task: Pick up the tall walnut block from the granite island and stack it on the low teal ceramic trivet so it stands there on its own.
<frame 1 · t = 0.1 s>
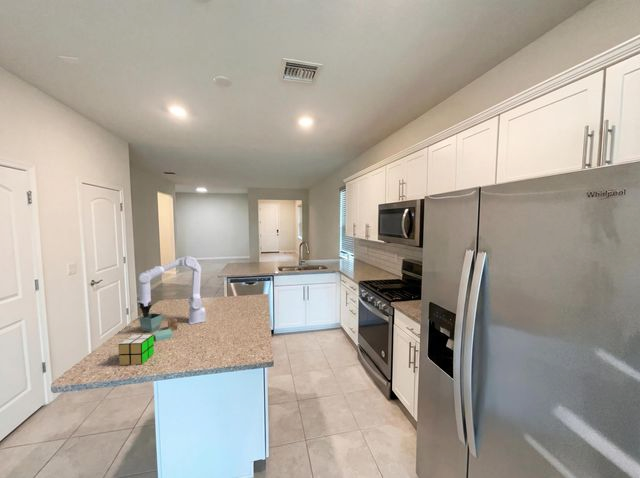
hand: (145, 315, 152), 10 cm above the countertop, fingers open, 7 cm apart
puzzle cube: (137, 359, 121), on the countertop
walnut block: (172, 329, 157), on the countertop
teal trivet: (163, 337, 145), on the countertop
flower pot: (151, 330, 154), on the countertop
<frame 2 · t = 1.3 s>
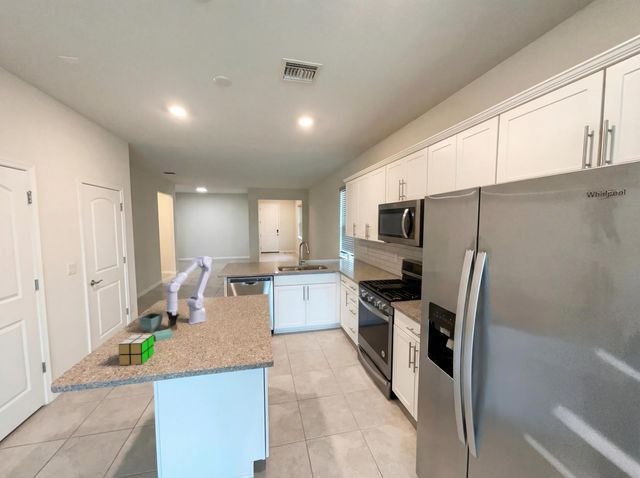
hand: (172, 323, 156), 3 cm above the countertop, fingers open, 7 cm apart
nothing on the countertop moved.
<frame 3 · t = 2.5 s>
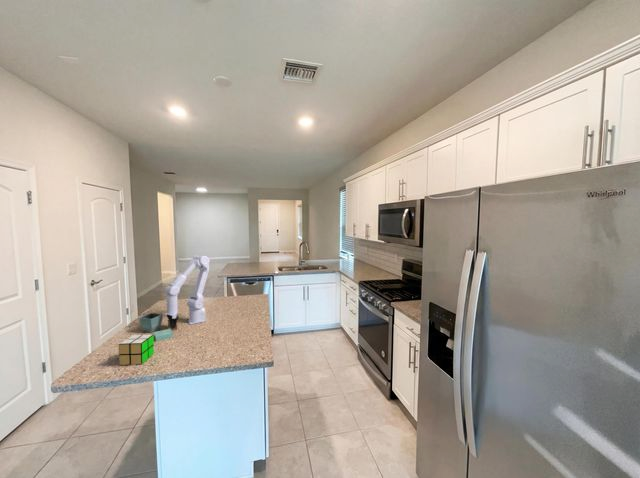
hand: (172, 326, 157), 1 cm above the countertop, fingers closed on walnut block, 4 cm apart
walnut block: (172, 329, 157), on the countertop, touching gripper
everything else where it was.
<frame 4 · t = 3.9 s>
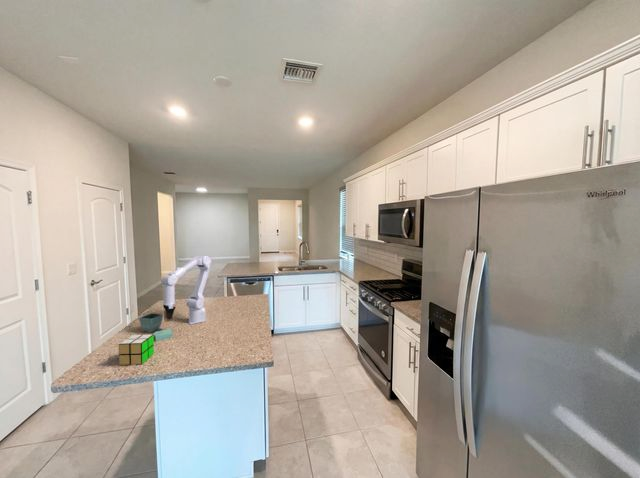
hand: (169, 317, 152), 9 cm above the countertop, fingers closed on walnut block, 4 cm apart
walnut block: (169, 320, 152), point 7 cm above the countertop, touching gripper
everything else where it was.
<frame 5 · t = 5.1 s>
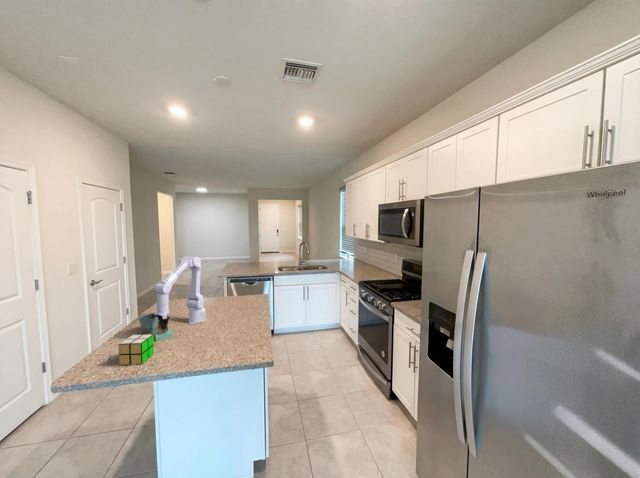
hand: (163, 327, 145), 5 cm above the countertop, fingers closed on walnut block, 4 cm apart
walnut block: (163, 330, 145), point 4 cm above the countertop, touching gripper
everything else where it was.
when the fingers open (5 cm above the countertop, at t = 5.7 s): walnut block drops 1 cm, resting on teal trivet.
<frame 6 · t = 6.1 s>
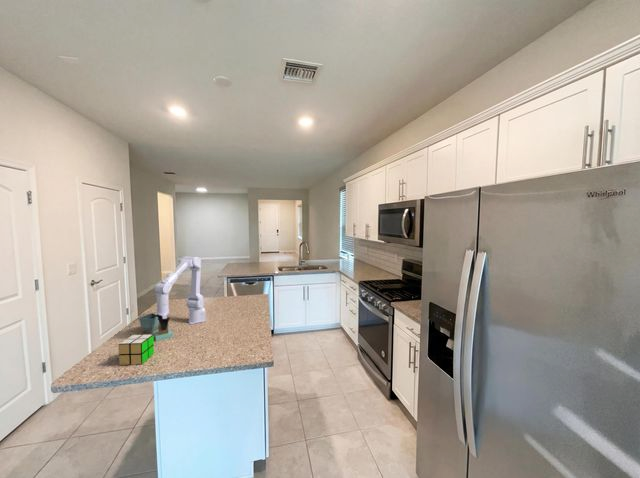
hand: (163, 327, 145), 5 cm above the countertop, fingers open, 7 cm apart
walnut block: (163, 332, 145), point 3 cm above the countertop, touching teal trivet
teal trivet: (163, 337, 145), on the countertop, touching walnut block
everything else where it was.
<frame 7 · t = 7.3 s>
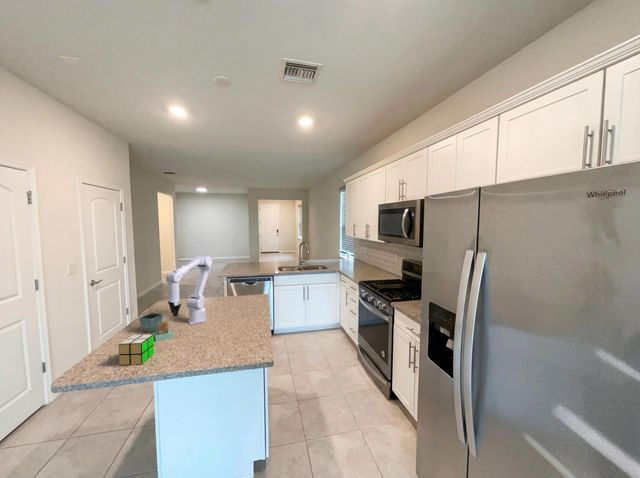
hand: (174, 314, 153), 10 cm above the countertop, fingers open, 7 cm apart
walnut block: (163, 332, 145), point 3 cm above the countertop
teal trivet: (163, 337, 145), on the countertop
everything else where it was.
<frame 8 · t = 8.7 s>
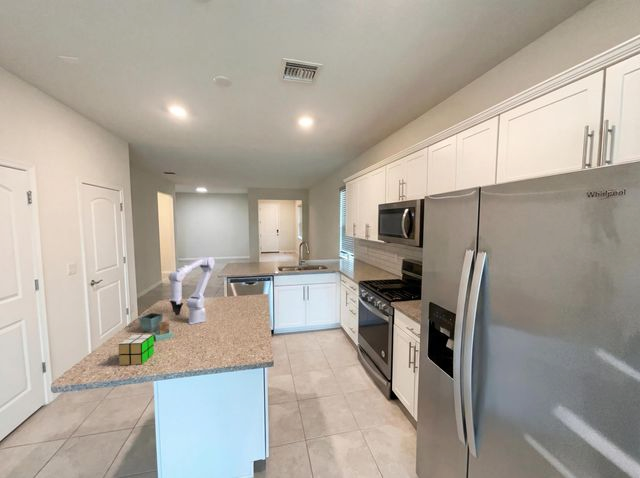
hand: (176, 313, 155), 10 cm above the countertop, fingers open, 7 cm apart
walnut block: (163, 332, 145), point 3 cm above the countertop, touching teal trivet
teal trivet: (163, 337, 145), on the countertop, touching walnut block
everything else where it was.
at the end: walnut block 0.3 cm off-centre on the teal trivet, point 3.1 cm above the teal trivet's base; walnut block tilted 1°; the gripper is holding nothing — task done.
